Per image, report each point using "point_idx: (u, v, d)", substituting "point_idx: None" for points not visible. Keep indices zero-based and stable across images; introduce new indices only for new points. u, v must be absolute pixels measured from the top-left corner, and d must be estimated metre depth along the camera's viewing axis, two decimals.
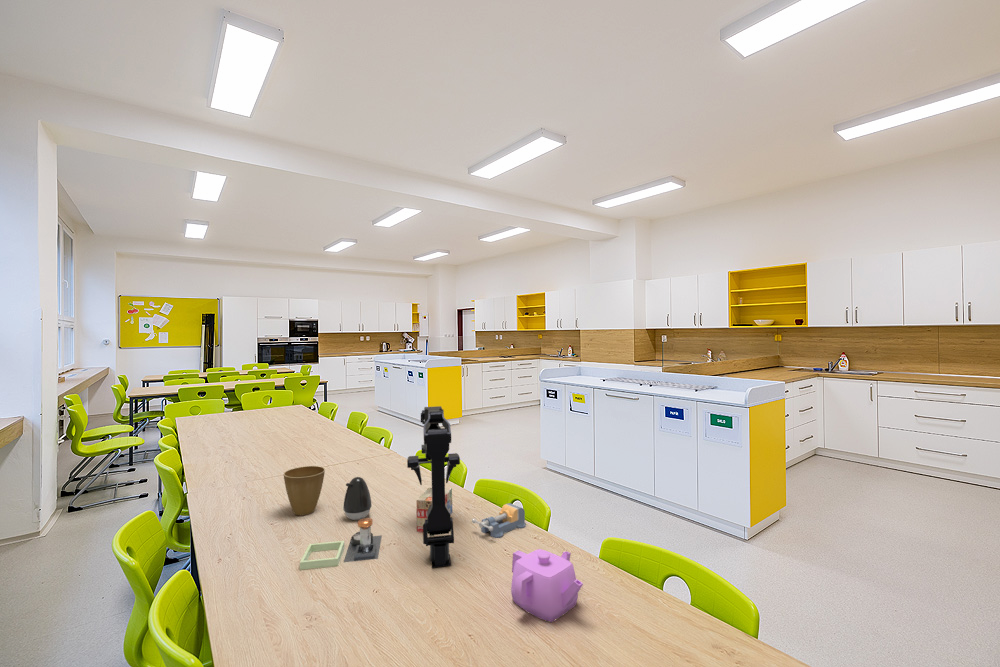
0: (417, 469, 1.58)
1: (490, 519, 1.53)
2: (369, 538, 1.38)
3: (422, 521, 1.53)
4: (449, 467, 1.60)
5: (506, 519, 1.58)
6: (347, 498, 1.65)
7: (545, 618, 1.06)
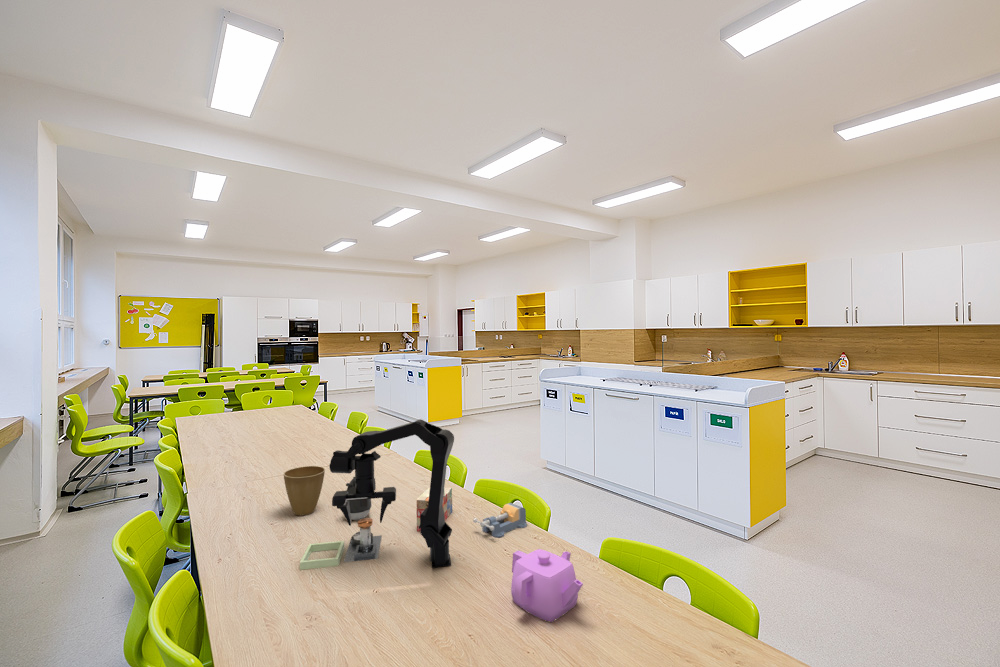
0: (344, 508, 1.35)
1: (491, 519, 1.53)
2: (369, 538, 1.38)
3: None
4: (382, 504, 1.37)
5: (507, 519, 1.58)
6: None
7: (545, 618, 1.06)
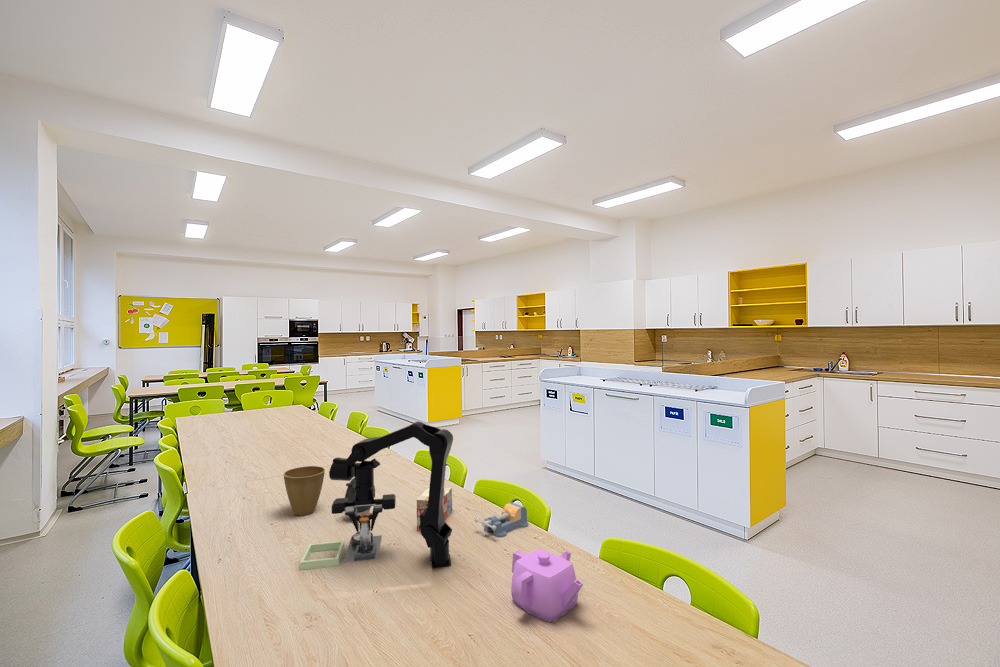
0: (352, 514, 1.35)
1: (493, 518, 1.53)
2: (369, 532, 1.38)
3: None
4: (373, 513, 1.36)
5: (509, 518, 1.58)
6: None
7: (545, 618, 1.06)
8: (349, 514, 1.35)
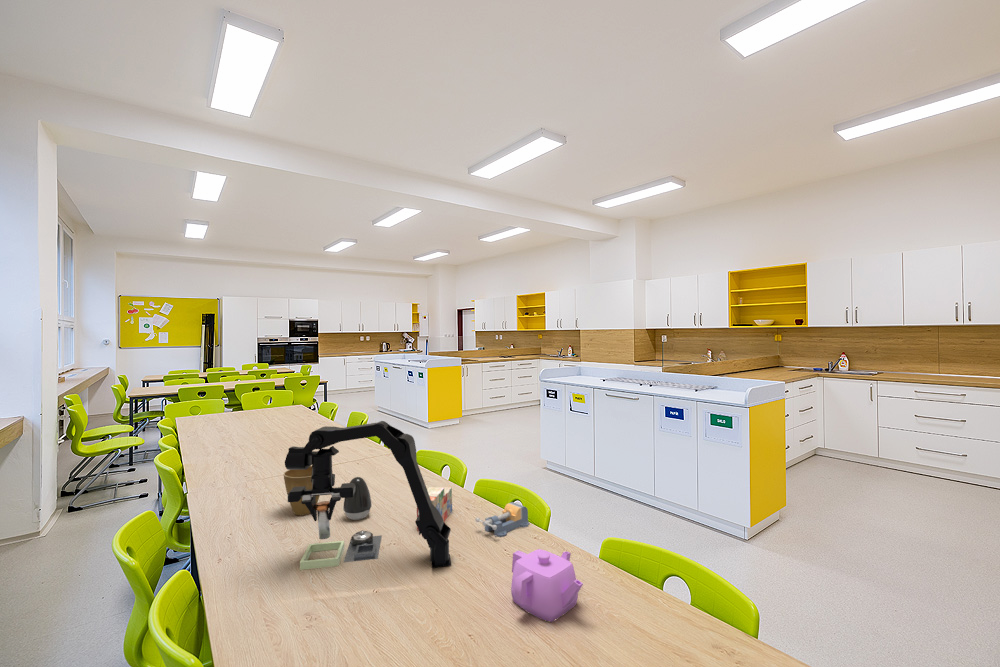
0: (309, 503, 1.33)
1: (494, 518, 1.53)
2: (327, 521, 1.36)
3: None
4: (331, 501, 1.34)
5: (509, 518, 1.59)
6: (347, 498, 1.65)
7: (545, 618, 1.06)
8: (306, 503, 1.33)
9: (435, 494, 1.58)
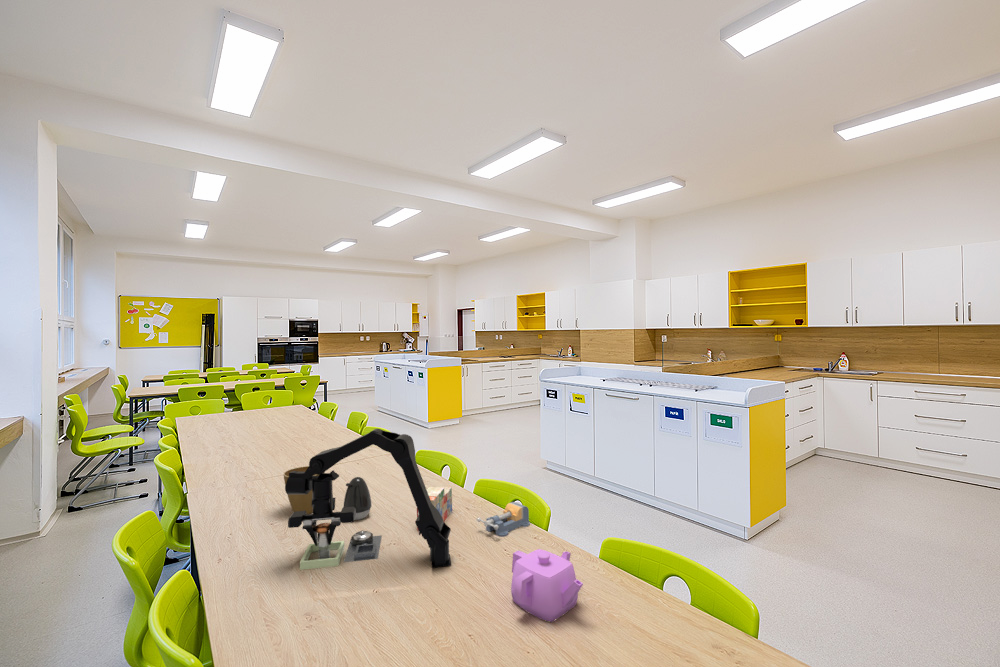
0: (309, 528, 1.33)
1: (495, 518, 1.54)
2: (327, 543, 1.36)
3: None
4: (331, 526, 1.34)
5: (510, 518, 1.59)
6: (347, 498, 1.65)
7: (545, 618, 1.06)
8: (306, 528, 1.33)
9: (435, 494, 1.58)
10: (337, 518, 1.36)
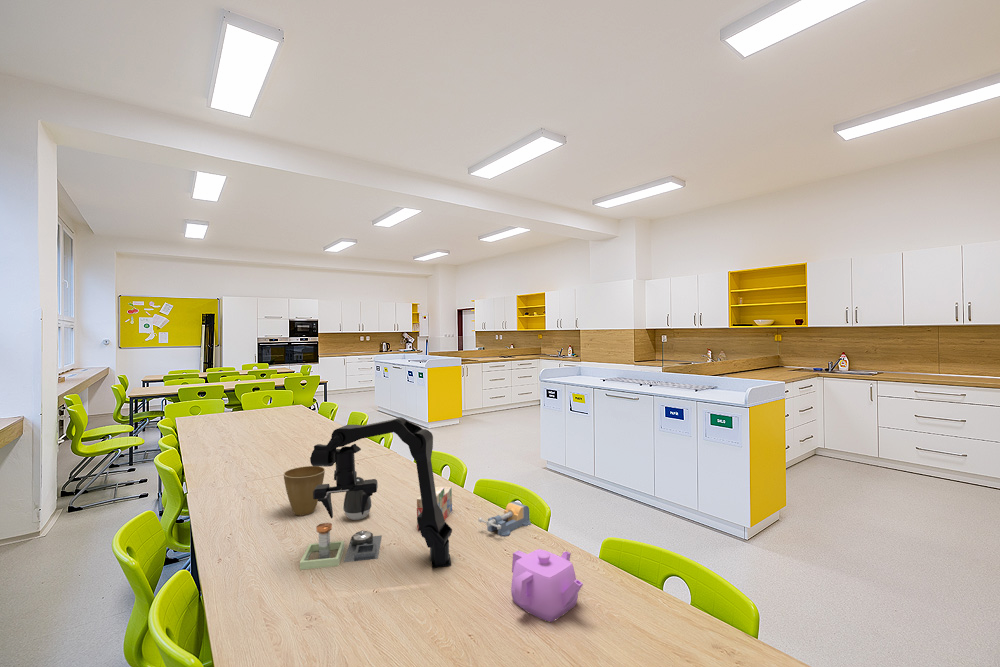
0: (325, 500, 1.36)
1: (497, 518, 1.54)
2: (328, 543, 1.36)
3: None
4: (363, 496, 1.38)
5: (512, 517, 1.59)
6: (347, 498, 1.65)
7: (545, 618, 1.06)
8: (322, 500, 1.36)
9: None
10: None
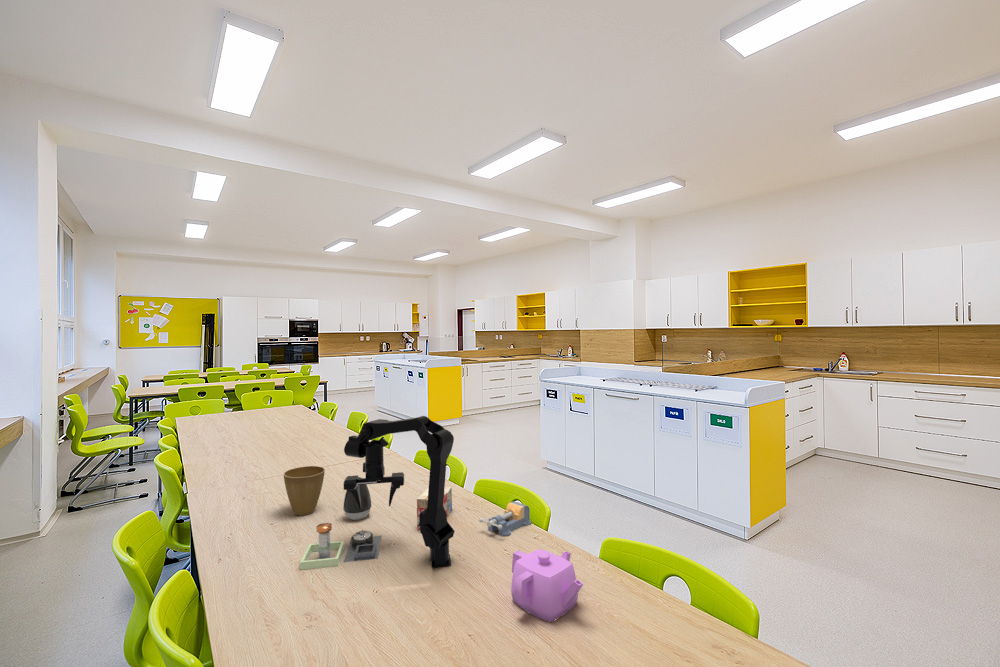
0: (355, 491, 1.41)
1: (498, 518, 1.54)
2: (328, 543, 1.36)
3: None
4: (391, 489, 1.43)
5: (512, 517, 1.59)
6: (347, 498, 1.65)
7: (545, 618, 1.06)
8: (352, 491, 1.41)
9: None
10: None
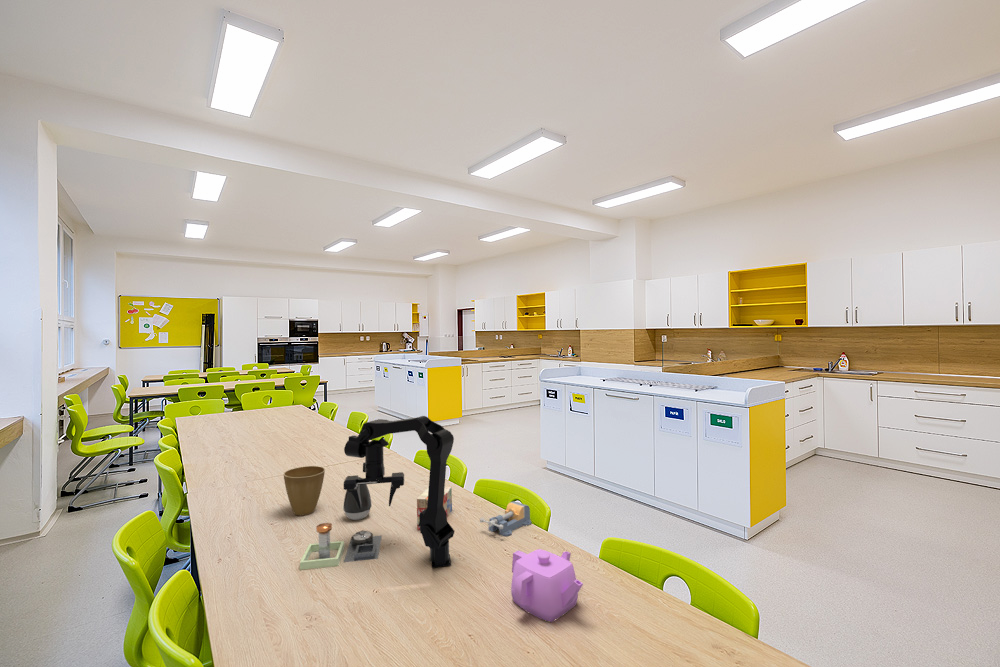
0: (355, 491, 1.41)
1: (499, 518, 1.54)
2: (328, 543, 1.36)
3: None
4: (391, 489, 1.43)
5: (512, 517, 1.59)
6: (347, 498, 1.65)
7: (545, 618, 1.06)
8: (352, 491, 1.41)
9: None
10: None
